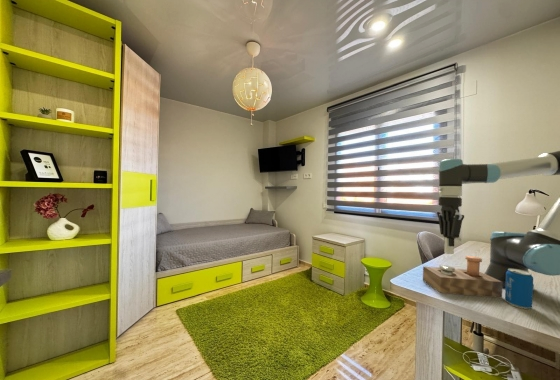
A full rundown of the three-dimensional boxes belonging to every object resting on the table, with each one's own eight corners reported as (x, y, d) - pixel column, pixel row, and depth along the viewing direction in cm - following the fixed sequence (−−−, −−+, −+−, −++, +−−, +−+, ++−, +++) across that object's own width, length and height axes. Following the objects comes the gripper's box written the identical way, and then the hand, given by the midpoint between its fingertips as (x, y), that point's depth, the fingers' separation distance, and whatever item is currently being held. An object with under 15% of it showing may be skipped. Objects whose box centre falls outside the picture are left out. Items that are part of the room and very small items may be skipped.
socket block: (476, 284, 93) (476, 270, 93) (501, 297, 81) (502, 282, 81) (422, 279, 95) (423, 266, 95) (440, 292, 83) (440, 277, 83)
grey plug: (448, 282, 91) (449, 265, 91) (457, 288, 86) (457, 269, 86) (436, 281, 92) (436, 264, 92) (443, 286, 87) (444, 268, 87)
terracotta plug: (474, 273, 90) (475, 256, 90) (484, 278, 85) (485, 259, 85) (461, 272, 91) (462, 255, 91) (471, 277, 86) (471, 259, 86)
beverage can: (499, 299, 80) (501, 267, 80) (517, 300, 79) (519, 268, 79) (518, 309, 73) (520, 274, 73) (538, 310, 73) (539, 275, 73)
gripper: (430, 196, 96) (429, 248, 96) (451, 196, 83) (450, 257, 83) (448, 196, 95) (447, 249, 95) (472, 197, 82) (471, 258, 82)
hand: (448, 253), depth 89 cm, fingers closed
